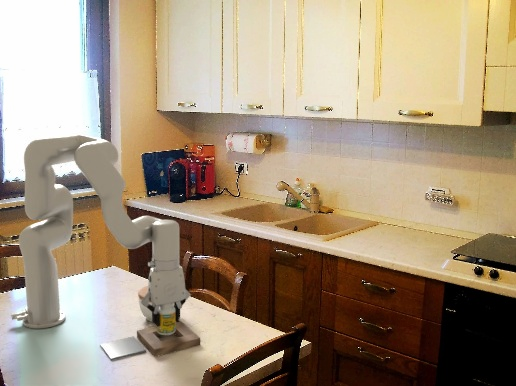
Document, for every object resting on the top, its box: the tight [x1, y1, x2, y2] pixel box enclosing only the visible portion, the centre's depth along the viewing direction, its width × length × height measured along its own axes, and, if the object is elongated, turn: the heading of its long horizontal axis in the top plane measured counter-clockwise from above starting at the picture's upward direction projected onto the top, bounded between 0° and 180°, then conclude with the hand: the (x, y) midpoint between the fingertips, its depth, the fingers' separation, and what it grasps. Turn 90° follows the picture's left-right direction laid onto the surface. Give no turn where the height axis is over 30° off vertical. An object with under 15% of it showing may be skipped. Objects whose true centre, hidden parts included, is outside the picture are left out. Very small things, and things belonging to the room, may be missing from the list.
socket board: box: [136, 320, 201, 357], centre depth 166 cm, size 14×14×2 cm
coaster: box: [99, 336, 147, 362], centre depth 161 cm, size 10×10×1 cm
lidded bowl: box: [137, 285, 174, 323], centre depth 181 cm, size 13×13×11 cm
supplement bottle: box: [157, 303, 176, 336], centre depth 165 cm, size 5×5×10 cm
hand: (166, 322), depth 165 cm, fingers closed on supplement bottle, 5 cm apart
